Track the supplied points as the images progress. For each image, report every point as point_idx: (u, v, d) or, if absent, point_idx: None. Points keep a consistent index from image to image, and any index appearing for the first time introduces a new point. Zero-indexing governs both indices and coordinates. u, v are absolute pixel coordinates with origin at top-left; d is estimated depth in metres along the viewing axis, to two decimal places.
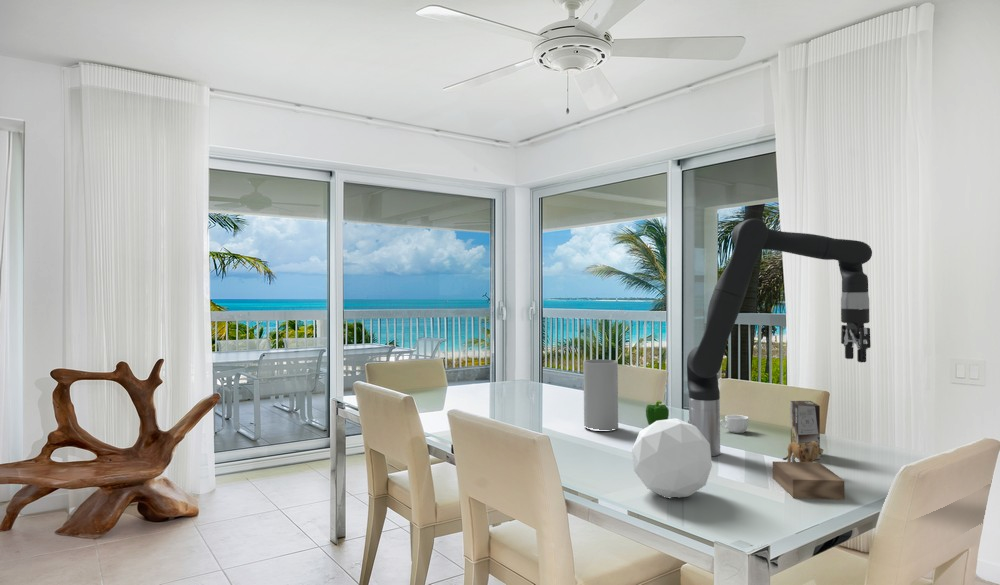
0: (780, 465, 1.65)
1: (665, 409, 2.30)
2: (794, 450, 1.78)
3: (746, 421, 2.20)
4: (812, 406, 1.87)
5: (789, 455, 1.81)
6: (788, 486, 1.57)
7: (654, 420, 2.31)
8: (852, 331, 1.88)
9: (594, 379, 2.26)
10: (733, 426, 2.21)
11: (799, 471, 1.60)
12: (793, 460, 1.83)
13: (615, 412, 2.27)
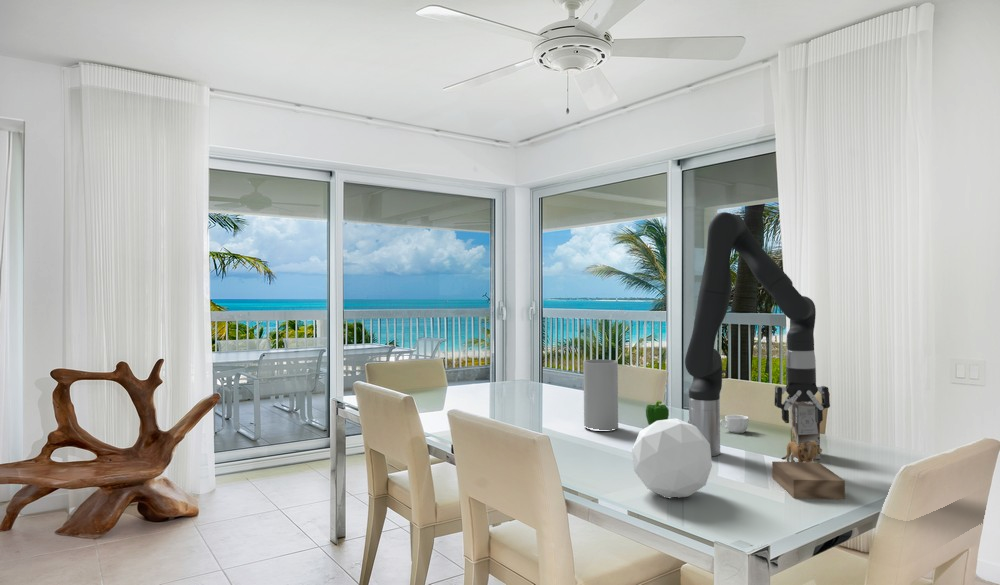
0: (780, 465, 1.65)
1: (665, 409, 2.30)
2: (793, 450, 1.79)
3: (746, 421, 2.20)
4: (812, 406, 1.87)
5: (788, 454, 1.81)
6: (788, 486, 1.57)
7: (654, 420, 2.31)
8: (811, 392, 1.76)
9: (594, 379, 2.26)
10: (733, 426, 2.21)
11: (800, 471, 1.60)
12: (792, 459, 1.84)
13: (615, 412, 2.27)
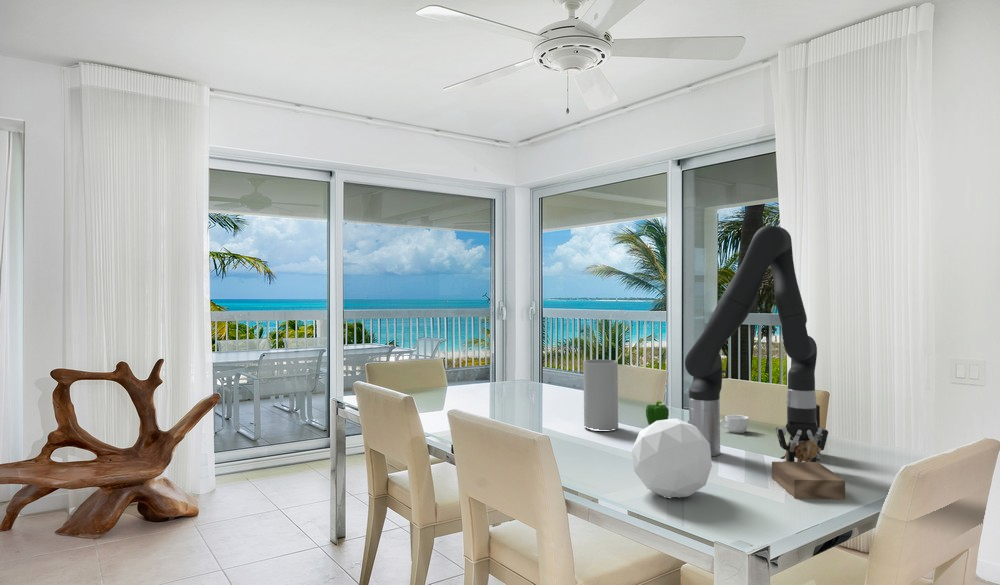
0: (780, 465, 1.65)
1: (665, 409, 2.30)
2: None
3: (746, 421, 2.20)
4: None
5: None
6: (789, 486, 1.57)
7: (654, 420, 2.31)
8: None
9: (594, 379, 2.26)
10: (733, 426, 2.21)
11: (800, 471, 1.60)
12: None
13: (615, 412, 2.27)
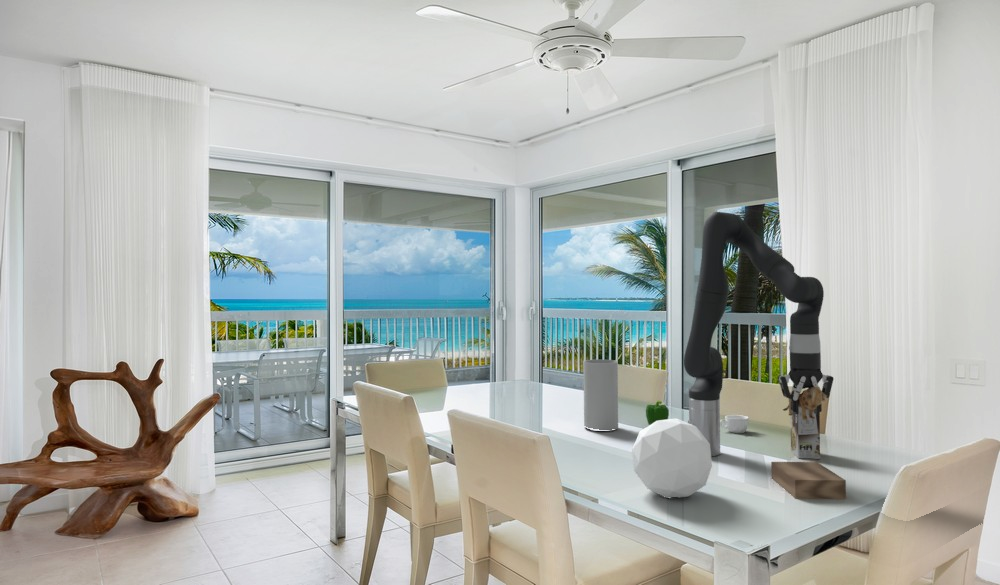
0: (779, 465, 1.65)
1: (665, 409, 2.30)
2: None
3: (746, 421, 2.20)
4: None
5: (790, 404, 1.72)
6: (789, 487, 1.56)
7: (654, 420, 2.31)
8: None
9: (594, 379, 2.26)
10: (733, 426, 2.21)
11: (800, 471, 1.60)
12: None
13: (615, 412, 2.27)
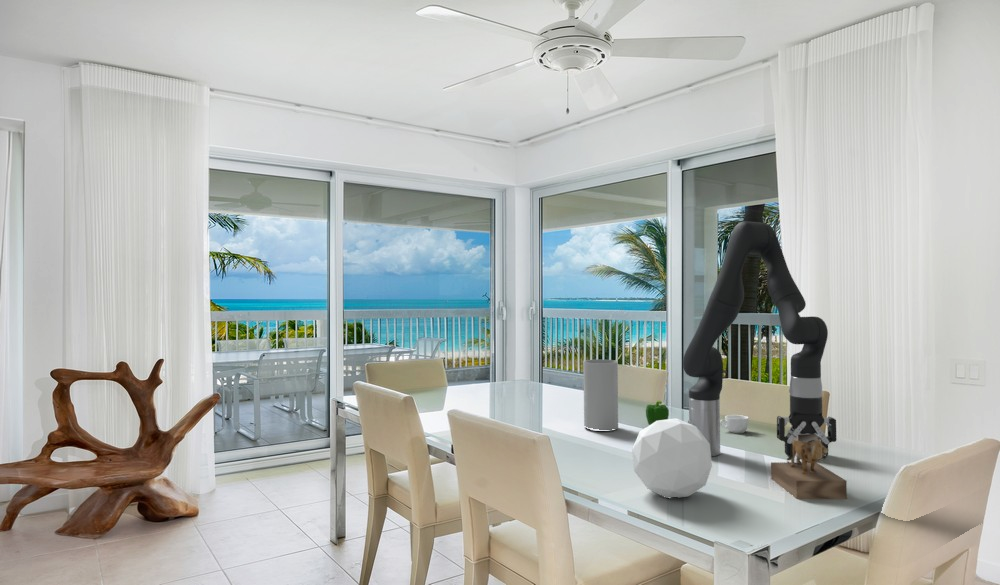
0: (779, 466, 1.65)
1: (665, 409, 2.30)
2: (797, 449, 1.62)
3: (746, 421, 2.20)
4: None
5: None
6: (790, 487, 1.56)
7: (654, 420, 2.31)
8: (816, 423, 1.59)
9: (594, 379, 2.26)
10: (733, 426, 2.21)
11: (800, 471, 1.60)
12: (798, 460, 1.67)
13: (615, 412, 2.27)
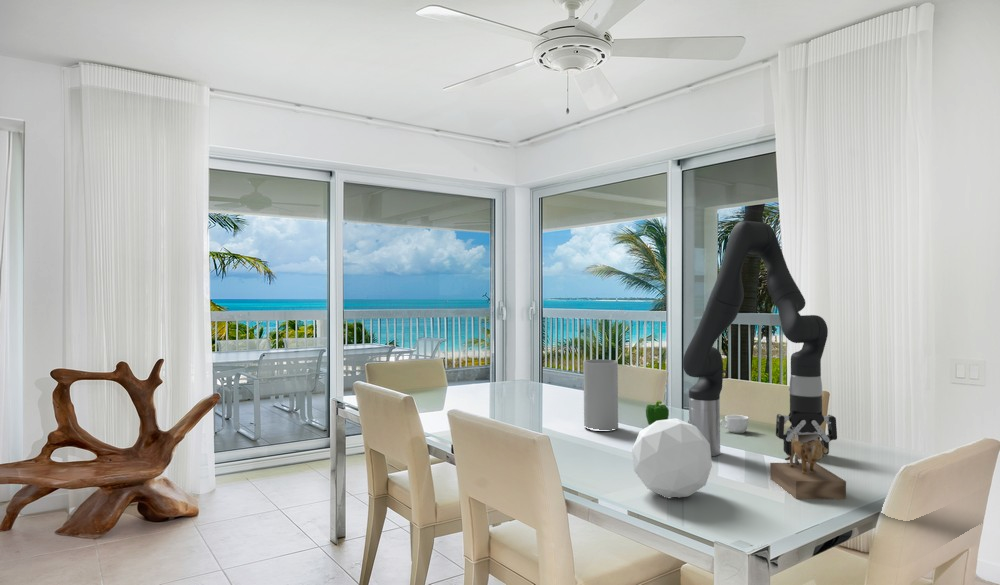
0: (779, 466, 1.65)
1: (665, 409, 2.30)
2: (796, 449, 1.62)
3: (746, 421, 2.20)
4: None
5: (791, 455, 1.65)
6: (790, 488, 1.56)
7: (654, 420, 2.31)
8: (816, 422, 1.59)
9: (594, 379, 2.26)
10: (733, 426, 2.21)
11: (800, 472, 1.60)
12: (796, 460, 1.67)
13: (615, 412, 2.27)
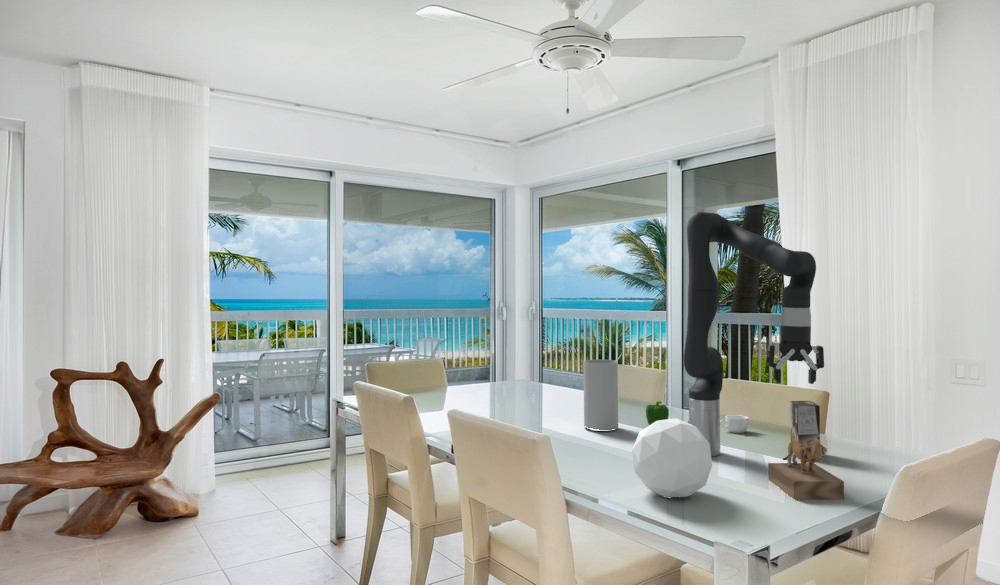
0: (777, 467, 1.64)
1: (665, 409, 2.30)
2: (795, 449, 1.62)
3: (746, 421, 2.20)
4: (812, 406, 1.87)
5: (789, 455, 1.65)
6: (787, 488, 1.56)
7: (654, 420, 2.31)
8: (804, 351, 1.69)
9: (594, 379, 2.26)
10: (733, 426, 2.21)
11: (797, 472, 1.59)
12: (794, 460, 1.67)
13: (615, 412, 2.27)
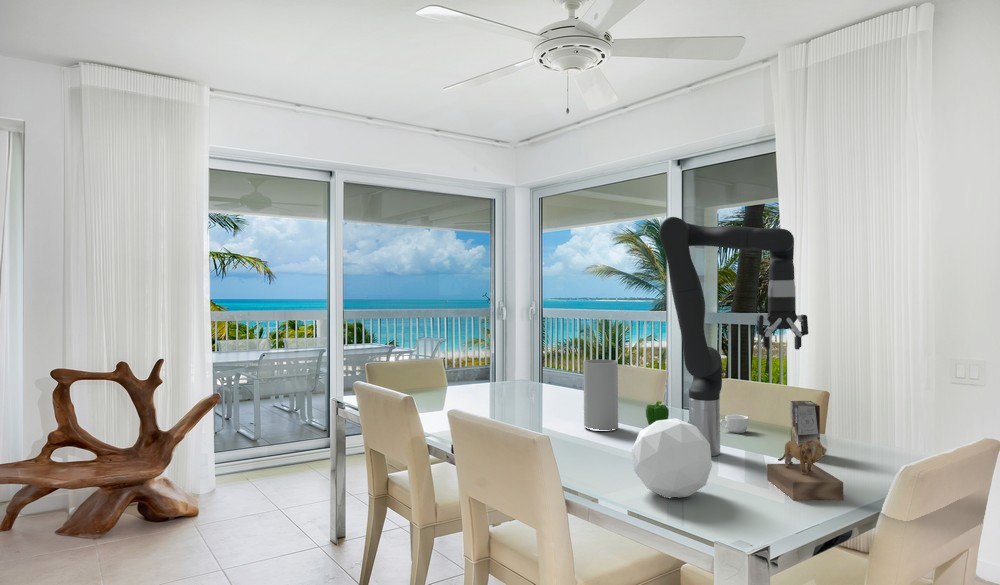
0: (776, 467, 1.64)
1: (665, 409, 2.30)
2: (793, 450, 1.61)
3: (746, 421, 2.20)
4: (812, 406, 1.87)
5: (786, 455, 1.64)
6: (787, 489, 1.55)
7: (654, 420, 2.31)
8: (790, 319, 1.86)
9: (594, 379, 2.26)
10: (733, 426, 2.21)
11: (796, 473, 1.59)
12: (789, 461, 1.67)
13: (615, 412, 2.27)
